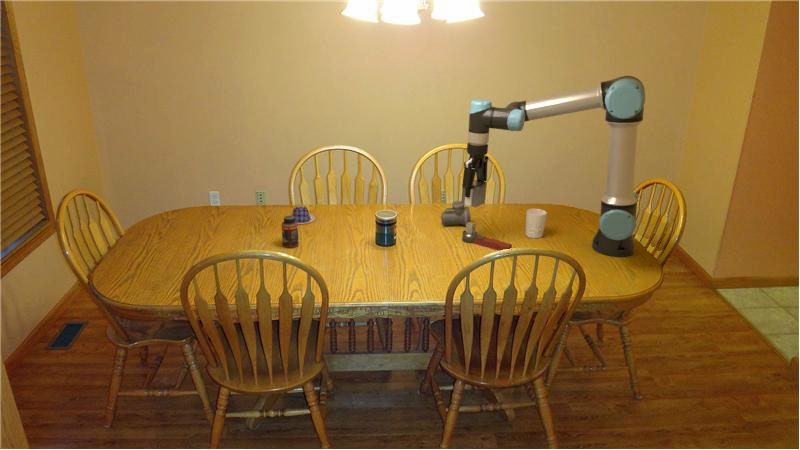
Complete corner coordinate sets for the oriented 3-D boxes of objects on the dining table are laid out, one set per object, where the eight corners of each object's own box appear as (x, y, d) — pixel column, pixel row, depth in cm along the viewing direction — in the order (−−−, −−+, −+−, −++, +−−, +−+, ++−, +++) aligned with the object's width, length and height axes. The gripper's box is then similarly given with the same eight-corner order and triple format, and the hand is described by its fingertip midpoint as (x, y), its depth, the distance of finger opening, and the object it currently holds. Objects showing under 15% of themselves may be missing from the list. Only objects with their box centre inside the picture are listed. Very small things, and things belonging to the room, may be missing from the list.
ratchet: (512, 249, 220) (514, 232, 218) (505, 254, 216) (506, 236, 213) (467, 236, 231) (468, 219, 229) (459, 240, 227) (460, 223, 224)
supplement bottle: (301, 243, 221) (300, 215, 217) (293, 249, 216) (292, 220, 212) (287, 241, 223) (286, 213, 219) (279, 247, 218) (278, 218, 214)
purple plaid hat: (316, 215, 250) (316, 203, 248) (313, 225, 239) (312, 213, 237) (288, 215, 250) (288, 203, 248) (283, 225, 239) (283, 213, 237)
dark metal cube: (484, 203, 223) (486, 183, 220) (475, 207, 218) (477, 186, 215) (470, 199, 227) (471, 179, 224) (461, 203, 222) (462, 183, 219)
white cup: (544, 240, 229) (547, 216, 226) (523, 238, 231) (526, 214, 227) (543, 232, 236) (546, 209, 233) (523, 230, 238) (526, 207, 234)
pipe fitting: (469, 220, 246) (468, 198, 242) (472, 229, 239) (471, 206, 234) (441, 223, 247) (439, 200, 242) (442, 231, 239) (441, 209, 235)
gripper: (482, 137, 223) (477, 194, 231) (454, 145, 209) (450, 206, 217) (499, 140, 219) (494, 198, 227) (472, 149, 204) (468, 211, 213)
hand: (473, 202), depth 222 cm, fingers closed on dark metal cube, 6 cm apart
